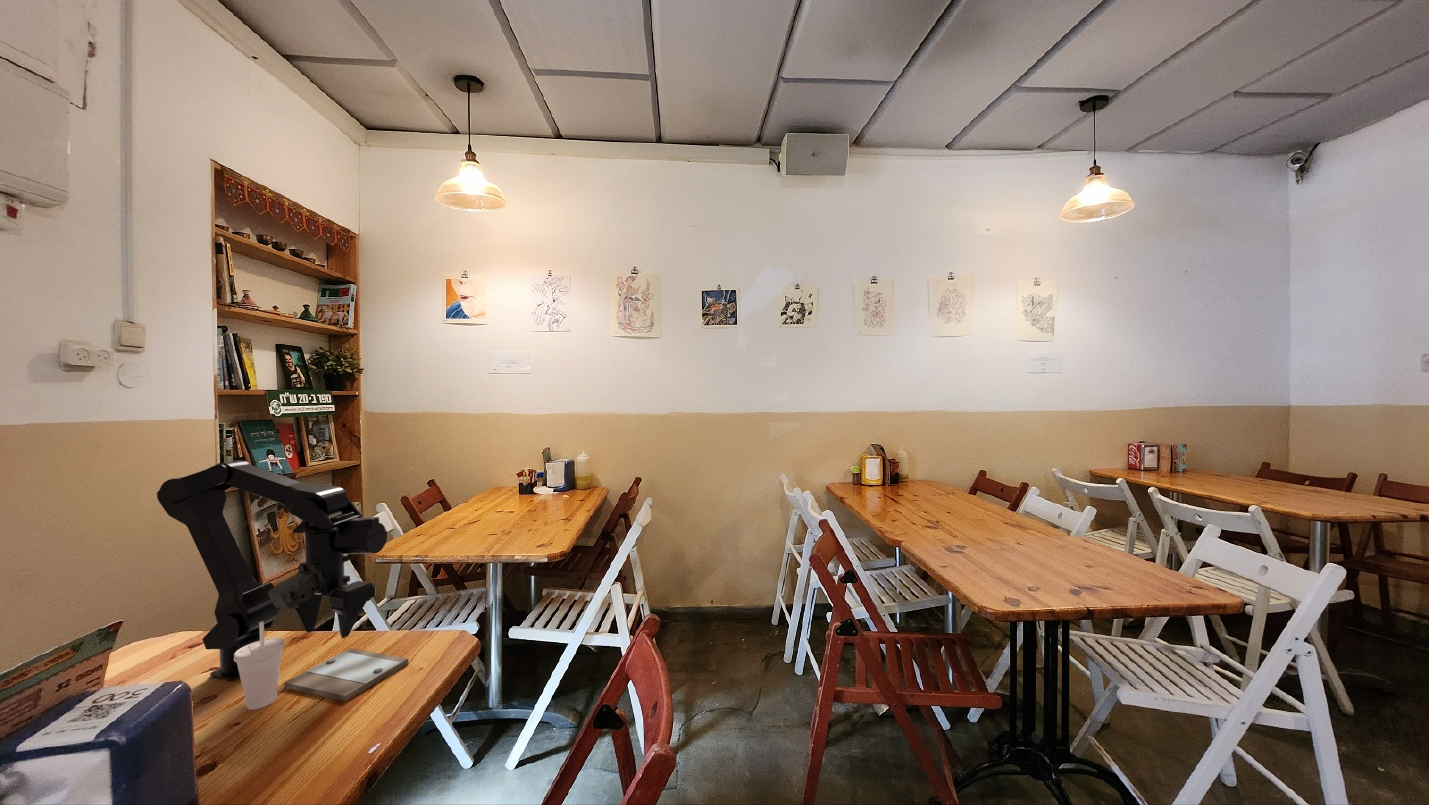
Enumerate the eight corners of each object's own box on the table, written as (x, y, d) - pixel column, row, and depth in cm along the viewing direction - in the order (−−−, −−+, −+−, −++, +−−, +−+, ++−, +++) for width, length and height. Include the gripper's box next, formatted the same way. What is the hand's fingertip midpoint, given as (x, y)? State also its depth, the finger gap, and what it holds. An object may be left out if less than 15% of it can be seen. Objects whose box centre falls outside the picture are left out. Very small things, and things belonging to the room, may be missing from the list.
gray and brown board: (284, 688, 87) (284, 680, 87) (351, 653, 98) (351, 647, 98) (345, 701, 82) (345, 694, 82) (408, 663, 94) (408, 657, 94)
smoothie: (255, 717, 79) (252, 632, 79) (224, 712, 80) (221, 629, 80) (296, 693, 85) (293, 614, 85) (267, 689, 86) (264, 612, 86)
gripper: (240, 564, 88) (243, 649, 88) (314, 573, 82) (317, 664, 83) (307, 545, 98) (310, 621, 99) (376, 552, 93) (379, 632, 93)
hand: (327, 634), depth 93 cm, fingers open, 9 cm apart
